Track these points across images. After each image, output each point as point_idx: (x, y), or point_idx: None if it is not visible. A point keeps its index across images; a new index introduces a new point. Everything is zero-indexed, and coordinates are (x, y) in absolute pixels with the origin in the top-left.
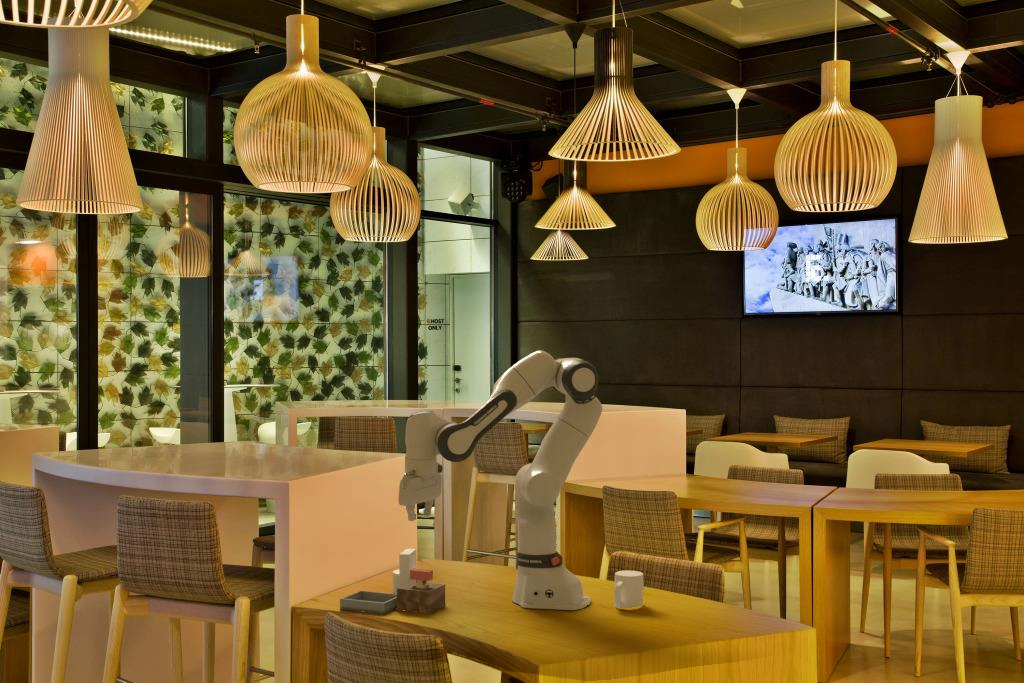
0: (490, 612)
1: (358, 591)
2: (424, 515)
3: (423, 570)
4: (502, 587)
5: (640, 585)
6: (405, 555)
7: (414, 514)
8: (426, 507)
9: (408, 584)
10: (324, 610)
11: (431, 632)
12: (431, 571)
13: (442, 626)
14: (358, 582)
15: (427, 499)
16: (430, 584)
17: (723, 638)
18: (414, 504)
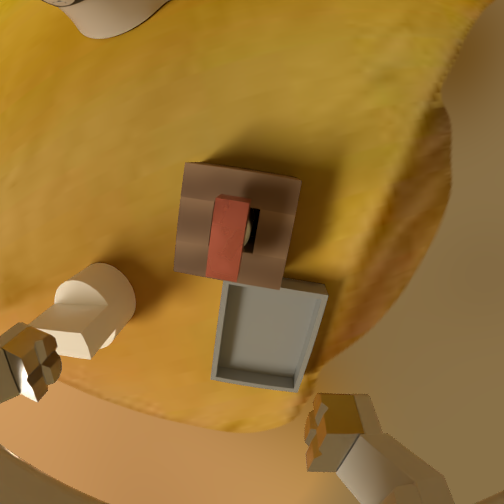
0: (243, 35)
1: (222, 380)
2: (60, 365)
3: (225, 232)
4: (28, 110)
5: None
6: (87, 341)
7: (374, 432)
8: (3, 388)
9: None
10: (306, 396)
11: (445, 134)
12: (227, 199)
13: (400, 117)
14: (92, 391)
15: (18, 478)
16: (200, 207)
17: None
18: (485, 500)
